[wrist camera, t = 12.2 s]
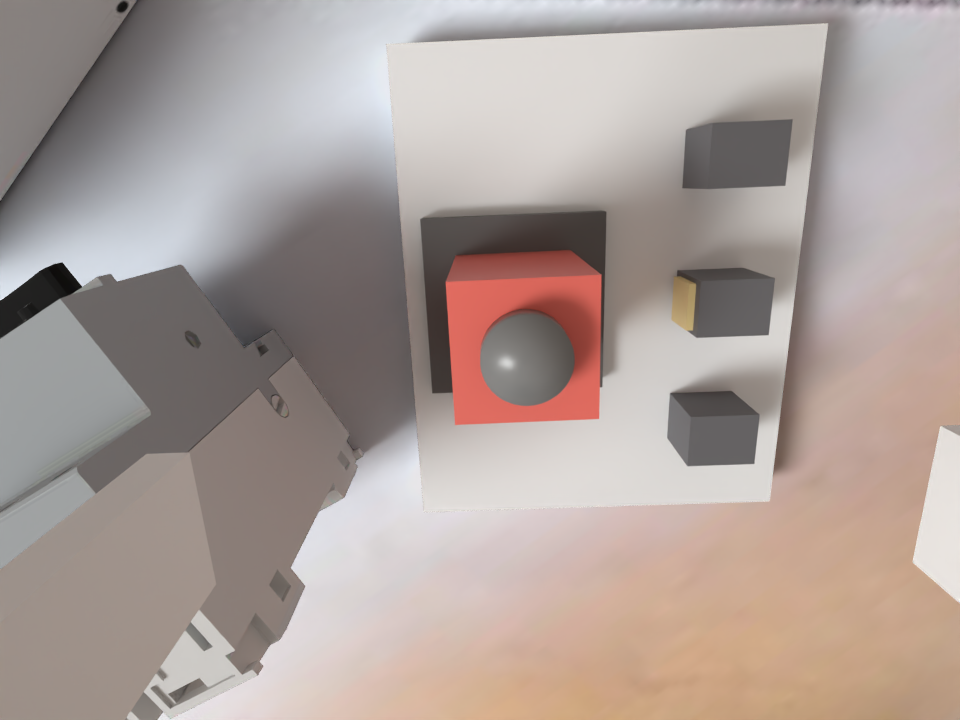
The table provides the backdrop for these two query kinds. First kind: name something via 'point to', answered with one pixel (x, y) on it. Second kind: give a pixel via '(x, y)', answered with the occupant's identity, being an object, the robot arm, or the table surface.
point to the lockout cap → (524, 337)
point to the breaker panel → (614, 248)
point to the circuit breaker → (169, 448)
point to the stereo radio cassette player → (45, 67)
